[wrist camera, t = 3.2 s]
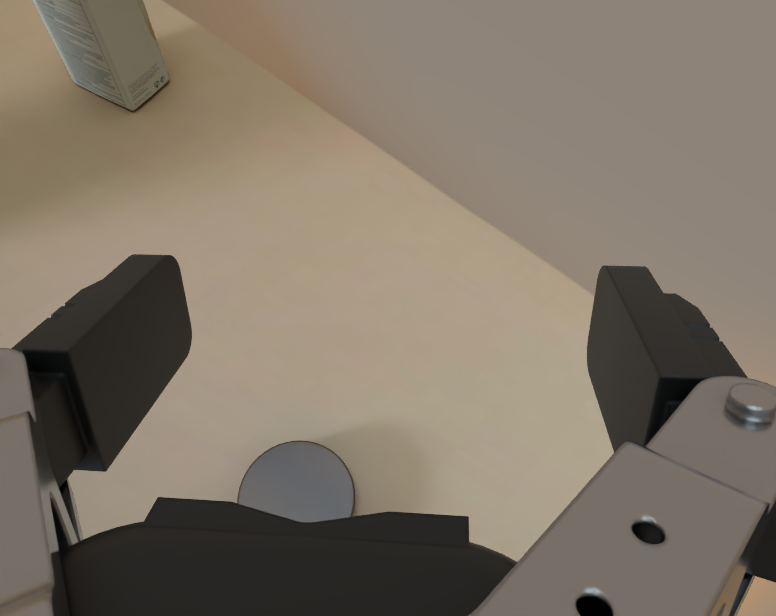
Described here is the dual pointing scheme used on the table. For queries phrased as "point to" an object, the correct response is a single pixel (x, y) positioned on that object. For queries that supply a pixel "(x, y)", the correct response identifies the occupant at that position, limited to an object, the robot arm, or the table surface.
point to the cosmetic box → (107, 47)
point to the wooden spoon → (299, 483)
